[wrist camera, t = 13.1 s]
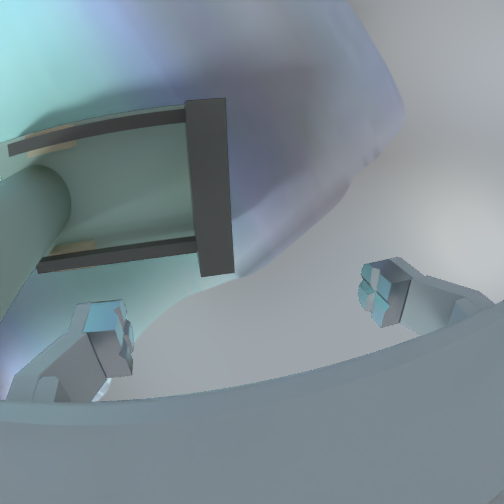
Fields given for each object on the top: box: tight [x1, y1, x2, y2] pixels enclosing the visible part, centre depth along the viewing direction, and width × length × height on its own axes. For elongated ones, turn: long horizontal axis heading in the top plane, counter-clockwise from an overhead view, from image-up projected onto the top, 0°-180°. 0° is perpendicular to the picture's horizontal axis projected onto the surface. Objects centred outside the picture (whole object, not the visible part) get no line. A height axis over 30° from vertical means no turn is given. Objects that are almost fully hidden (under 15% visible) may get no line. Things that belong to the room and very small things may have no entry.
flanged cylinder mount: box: [0, 104, 195, 323], centre depth 19 cm, size 12×20×18 cm, turn 92°
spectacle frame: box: [7, 98, 235, 277], centre depth 20 cm, size 12×16×4 cm
